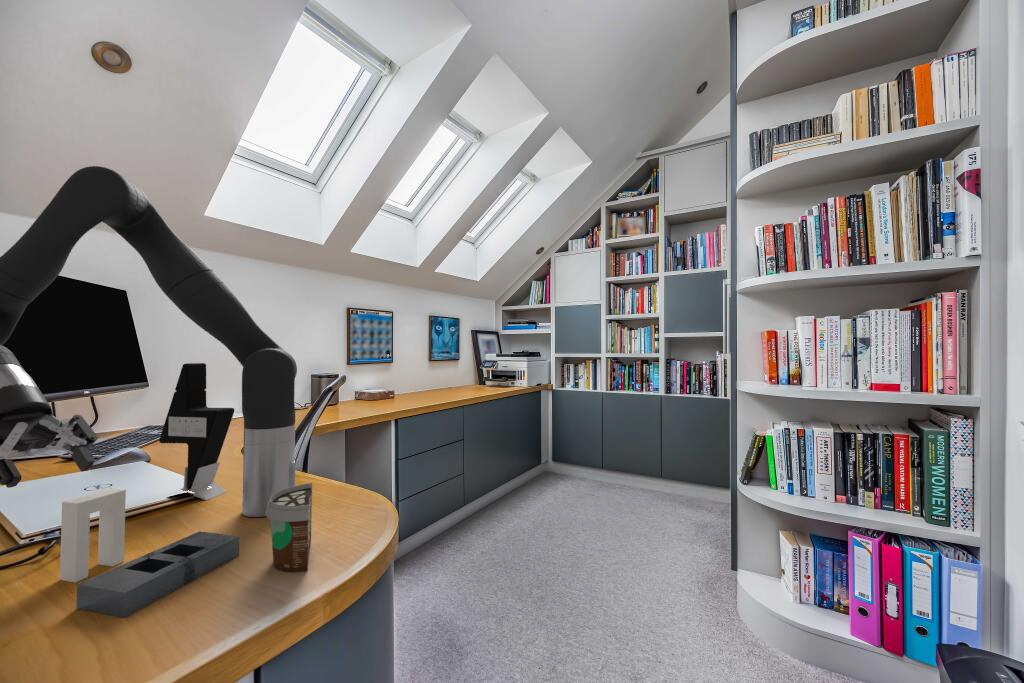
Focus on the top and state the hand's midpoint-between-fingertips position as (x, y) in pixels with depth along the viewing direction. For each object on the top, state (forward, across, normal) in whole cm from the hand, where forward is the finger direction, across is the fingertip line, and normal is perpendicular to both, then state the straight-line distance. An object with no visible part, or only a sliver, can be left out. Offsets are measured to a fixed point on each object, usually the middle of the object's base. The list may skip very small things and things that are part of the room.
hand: (54, 475), depth 64 cm
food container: (+34, +9, -15) cm, 38 cm away
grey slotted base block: (+25, +1, -6) cm, 26 cm away
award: (+4, +30, +16) cm, 34 cm away
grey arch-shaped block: (+16, 0, +3) cm, 16 cm away
